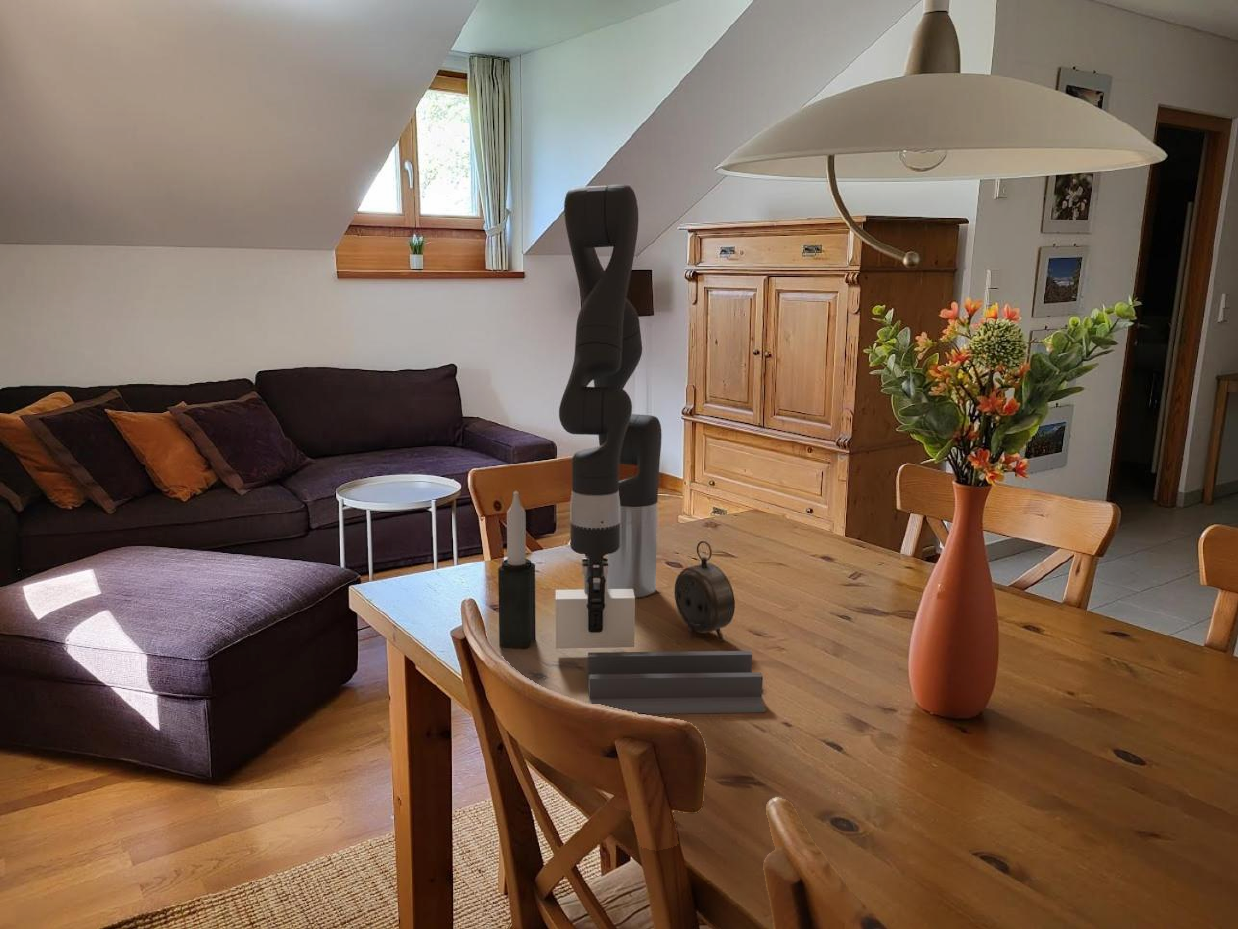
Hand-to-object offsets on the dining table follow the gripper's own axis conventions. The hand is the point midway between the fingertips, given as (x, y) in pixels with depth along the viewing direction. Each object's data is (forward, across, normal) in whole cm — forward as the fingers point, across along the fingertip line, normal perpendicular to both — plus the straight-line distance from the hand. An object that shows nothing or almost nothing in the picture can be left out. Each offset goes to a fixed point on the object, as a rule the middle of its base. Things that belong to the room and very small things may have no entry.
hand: (594, 625), depth 142 cm
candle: (+5, +6, +12) cm, 15 cm away
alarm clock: (+6, +8, -18) cm, 20 cm away
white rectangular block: (+3, 0, 0) cm, 3 cm away
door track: (+5, -12, -11) cm, 17 cm away
